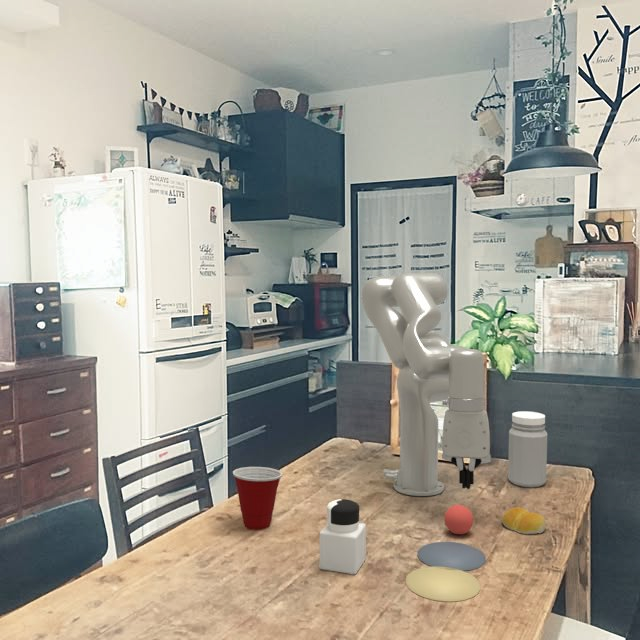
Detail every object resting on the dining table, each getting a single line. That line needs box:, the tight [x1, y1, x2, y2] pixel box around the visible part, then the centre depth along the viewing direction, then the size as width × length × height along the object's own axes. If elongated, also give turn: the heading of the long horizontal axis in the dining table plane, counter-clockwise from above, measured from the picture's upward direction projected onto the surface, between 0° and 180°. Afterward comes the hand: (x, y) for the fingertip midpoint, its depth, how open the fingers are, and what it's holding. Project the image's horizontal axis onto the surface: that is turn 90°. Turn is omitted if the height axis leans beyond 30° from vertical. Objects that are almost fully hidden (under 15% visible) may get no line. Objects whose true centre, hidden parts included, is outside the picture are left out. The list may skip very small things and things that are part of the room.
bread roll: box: [500, 506, 547, 535], centre depth 146 cm, size 8×9×4 cm
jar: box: [507, 410, 548, 488], centre depth 176 cm, size 10×10×18 cm
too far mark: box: [405, 566, 481, 603], centre depth 120 cm, size 13×13×1 cm
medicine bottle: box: [318, 498, 367, 575], centre depth 127 cm, size 7×7×12 cm
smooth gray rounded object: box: [417, 541, 487, 572], centre depth 131 cm, size 13×13×1 cm
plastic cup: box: [232, 466, 284, 531], centre depth 147 cm, size 11×11×12 cm
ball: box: [443, 504, 474, 535], centre depth 142 cm, size 6×6×6 cm
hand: (466, 486), depth 150 cm, fingers closed
